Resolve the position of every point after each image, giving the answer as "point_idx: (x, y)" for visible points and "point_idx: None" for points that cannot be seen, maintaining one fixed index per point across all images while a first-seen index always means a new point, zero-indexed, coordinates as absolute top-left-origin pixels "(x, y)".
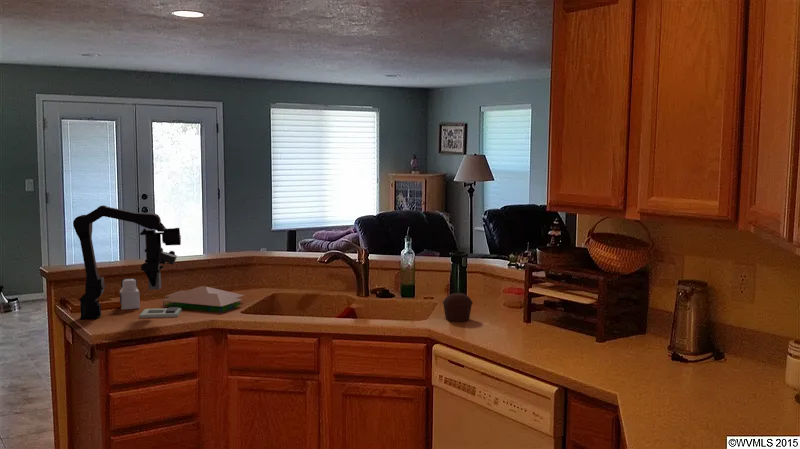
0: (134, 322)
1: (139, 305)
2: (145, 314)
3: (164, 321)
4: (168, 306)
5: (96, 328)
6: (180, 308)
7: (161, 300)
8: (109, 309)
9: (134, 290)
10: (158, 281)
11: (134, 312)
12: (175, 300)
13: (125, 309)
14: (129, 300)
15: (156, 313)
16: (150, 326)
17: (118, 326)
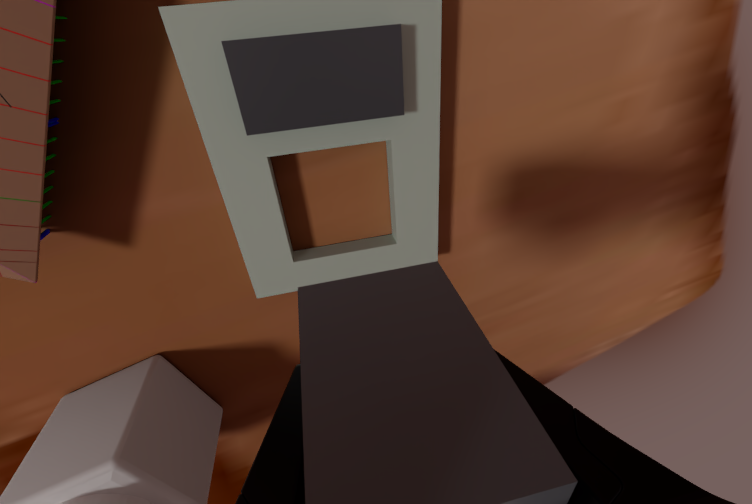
0: (535, 239)
1: (153, 368)
2: (431, 236)
3: (566, 61)
4: (47, 190)
5: (597, 335)
6: (190, 13)
7: (32, 274)
8: (221, 449)
9: (109, 495)
10: (486, 346)
11: (279, 333)
12: (7, 128)
13: (210, 398)
14: (185, 433)
15: (409, 177)
16: (668, 116)
17: (596, 275)
